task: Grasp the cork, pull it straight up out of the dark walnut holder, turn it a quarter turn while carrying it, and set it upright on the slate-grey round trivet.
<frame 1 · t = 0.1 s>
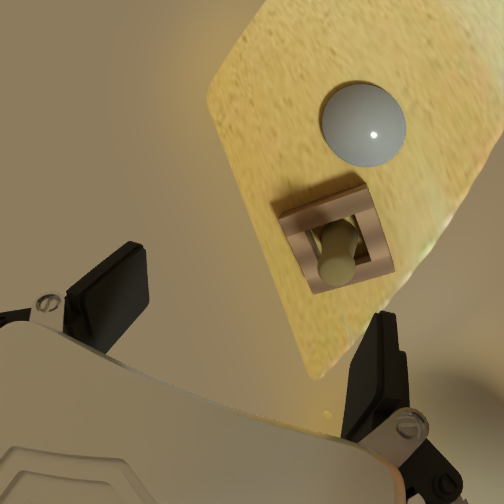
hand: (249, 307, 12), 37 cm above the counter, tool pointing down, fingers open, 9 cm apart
trivet: (364, 125, 40), on the counter
walnut holder: (339, 237, 49), on the counter
cork: (339, 237, 49), resting in walnut holder
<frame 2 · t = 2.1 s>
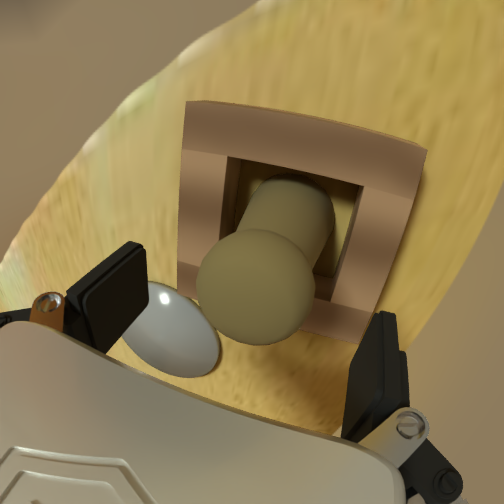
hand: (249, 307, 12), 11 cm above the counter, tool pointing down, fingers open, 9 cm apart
trivet: (165, 331, 31), on the counter
walnut holder: (291, 216, 22), on the counter
cork: (291, 215, 22), resting in walnut holder
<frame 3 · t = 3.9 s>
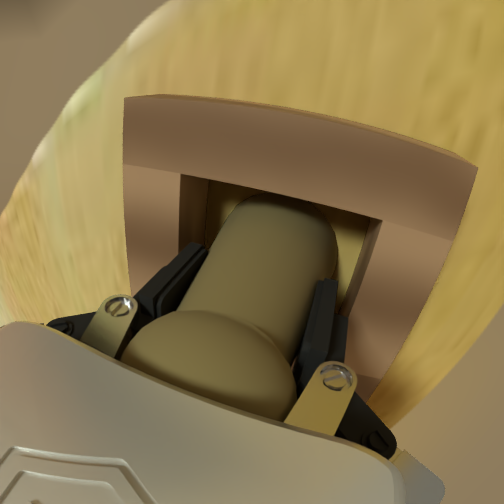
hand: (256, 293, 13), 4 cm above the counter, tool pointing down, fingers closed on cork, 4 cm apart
walnut holder: (277, 250, 16), on the counter
cork: (278, 248, 16), resting in walnut holder, touching gripper
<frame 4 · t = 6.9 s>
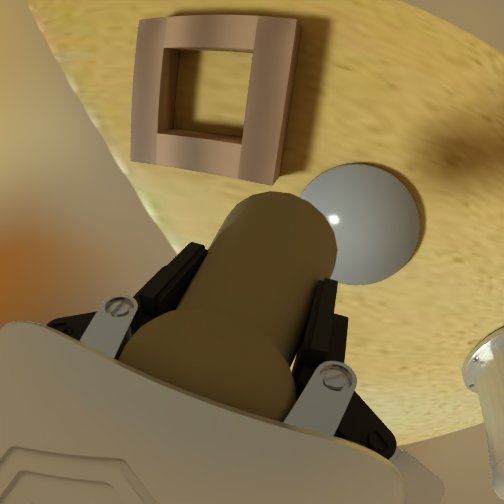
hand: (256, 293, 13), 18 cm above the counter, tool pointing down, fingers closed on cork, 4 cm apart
trivet: (357, 226, 29), on the counter
walnut holder: (214, 91, 26), on the counter
cork: (278, 247, 16), point 14 cm above the counter, touching gripper
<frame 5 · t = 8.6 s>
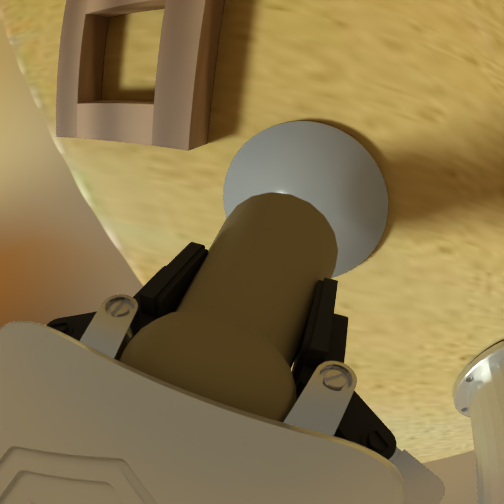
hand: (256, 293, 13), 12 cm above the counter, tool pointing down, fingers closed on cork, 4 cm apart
trivet: (305, 203, 23), on the counter
walnut holder: (138, 54, 21), on the counter
cork: (278, 248, 16), point 8 cm above the counter, touching gripper
when the fingers open (6 cm above the counter, at t = 10.0 s): cork drops 1 cm, resting on trivet.
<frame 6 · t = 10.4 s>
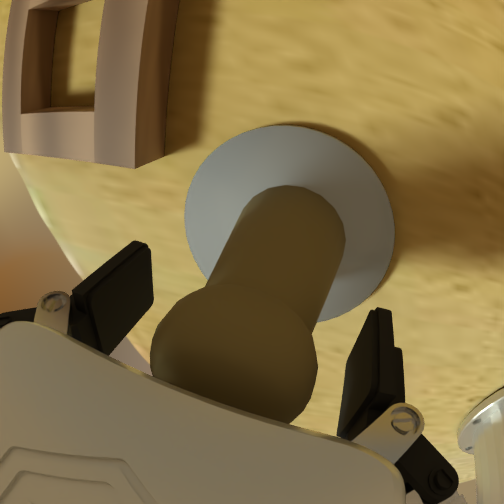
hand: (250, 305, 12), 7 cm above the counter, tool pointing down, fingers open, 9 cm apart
trivet: (286, 231, 18), on the counter
walnut holder: (87, 51, 16), on the counter
cork: (290, 237, 17), point 1 cm above the counter, touching trivet
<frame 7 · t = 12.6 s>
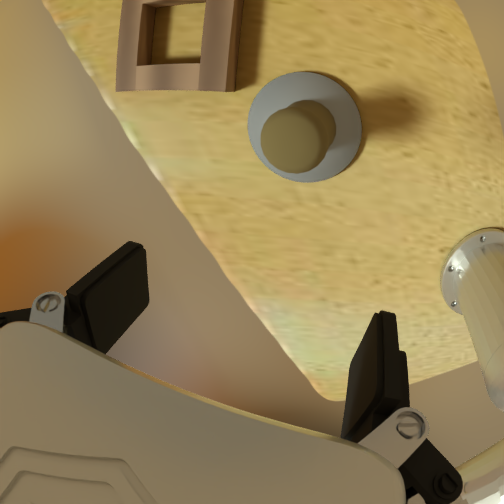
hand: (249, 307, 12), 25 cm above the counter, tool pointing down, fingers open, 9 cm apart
trivet: (304, 126, 31), on the counter
walnut holder: (182, 33, 29), on the counter
cork: (307, 127, 31), point 1 cm above the counter, touching trivet
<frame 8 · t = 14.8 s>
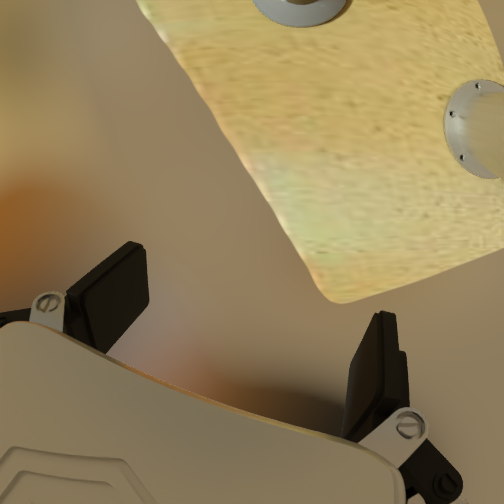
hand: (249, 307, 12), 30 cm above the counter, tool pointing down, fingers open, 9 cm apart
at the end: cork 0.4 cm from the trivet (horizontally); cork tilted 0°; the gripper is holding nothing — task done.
